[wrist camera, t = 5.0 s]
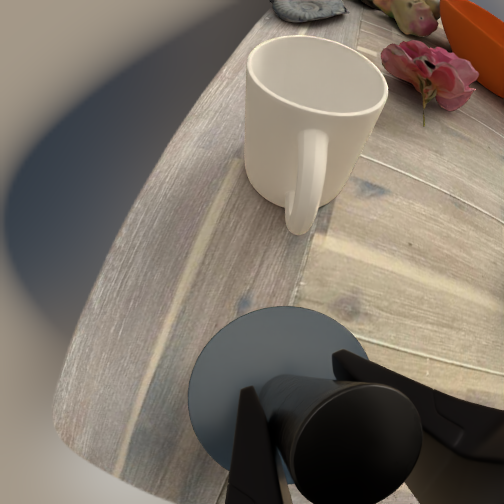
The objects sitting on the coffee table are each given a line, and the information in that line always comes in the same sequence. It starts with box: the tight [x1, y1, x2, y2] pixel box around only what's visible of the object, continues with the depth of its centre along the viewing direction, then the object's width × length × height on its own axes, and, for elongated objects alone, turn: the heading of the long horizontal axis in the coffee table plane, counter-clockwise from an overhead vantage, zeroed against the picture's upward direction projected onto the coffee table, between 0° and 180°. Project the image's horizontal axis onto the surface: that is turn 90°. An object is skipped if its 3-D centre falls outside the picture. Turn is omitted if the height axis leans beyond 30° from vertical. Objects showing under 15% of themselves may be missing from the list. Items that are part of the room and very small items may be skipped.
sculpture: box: [373, 0, 441, 37], centre depth 34 cm, size 15×8×10 cm
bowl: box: [440, 0, 504, 98], centre depth 31 cm, size 25×25×10 cm
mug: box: [244, 35, 388, 235], centre depth 19 cm, size 12×8×10 cm
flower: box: [381, 40, 479, 127], centre depth 26 cm, size 11×10×10 cm
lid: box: [188, 306, 423, 504], centre depth 9 cm, size 9×9×11 cm
